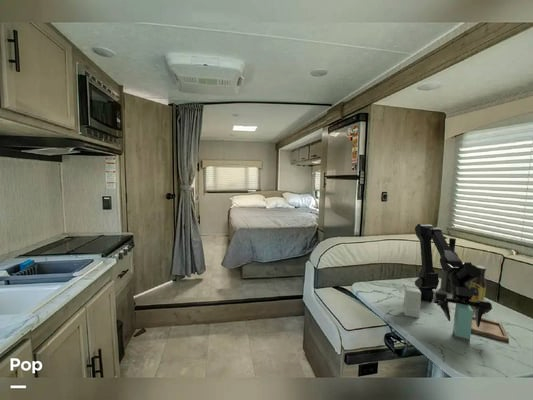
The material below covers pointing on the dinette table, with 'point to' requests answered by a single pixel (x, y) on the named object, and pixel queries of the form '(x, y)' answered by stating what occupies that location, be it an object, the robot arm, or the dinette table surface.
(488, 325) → the walnut tray
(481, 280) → the sauce bottle
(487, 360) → the dinette table surface
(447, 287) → the wine bottle
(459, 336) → the teal block
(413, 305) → the skincare box
